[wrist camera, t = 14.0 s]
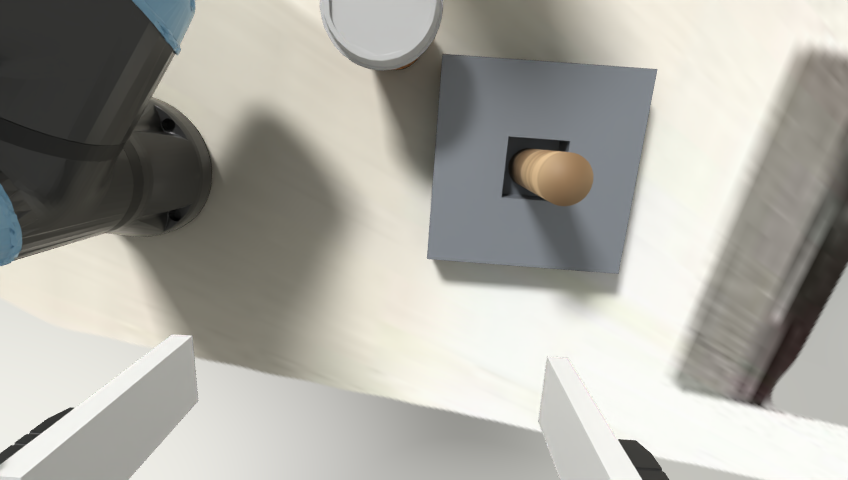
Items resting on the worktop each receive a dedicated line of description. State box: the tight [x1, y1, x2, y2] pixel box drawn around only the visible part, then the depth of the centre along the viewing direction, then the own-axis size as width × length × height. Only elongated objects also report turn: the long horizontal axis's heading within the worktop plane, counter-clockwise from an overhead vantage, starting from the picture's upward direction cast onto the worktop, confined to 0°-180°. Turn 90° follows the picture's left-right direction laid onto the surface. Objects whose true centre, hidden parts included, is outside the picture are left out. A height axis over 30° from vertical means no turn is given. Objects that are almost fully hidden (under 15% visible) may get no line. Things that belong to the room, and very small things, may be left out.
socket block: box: [427, 54, 657, 274], centre depth 43 cm, size 20×20×4 cm
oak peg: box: [508, 148, 593, 206], centre depth 38 cm, size 4×4×14 cm
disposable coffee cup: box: [320, 0, 443, 70], centre depth 37 cm, size 10×10×12 cm
